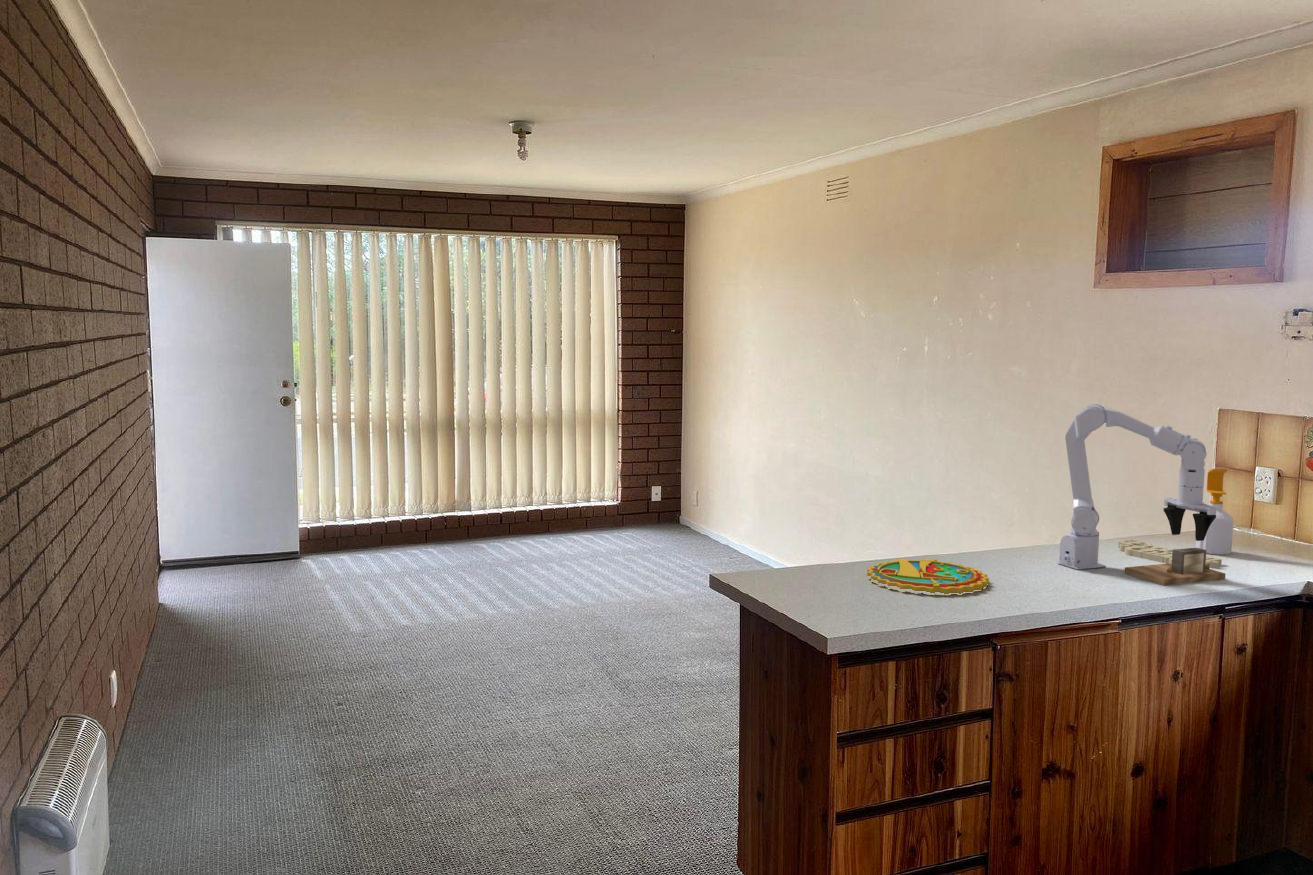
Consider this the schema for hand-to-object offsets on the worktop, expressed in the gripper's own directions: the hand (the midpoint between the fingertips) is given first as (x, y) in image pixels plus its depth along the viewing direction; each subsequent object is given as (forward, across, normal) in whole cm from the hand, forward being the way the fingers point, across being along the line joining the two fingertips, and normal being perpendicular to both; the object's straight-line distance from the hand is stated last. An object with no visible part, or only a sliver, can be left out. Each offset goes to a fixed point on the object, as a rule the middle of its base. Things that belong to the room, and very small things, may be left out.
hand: (1187, 537), depth 248 cm
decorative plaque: (+11, +17, +67) cm, 70 cm away
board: (+10, +1, +3) cm, 11 cm away
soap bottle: (+10, +20, -31) cm, 38 cm away
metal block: (+10, -1, 0) cm, 10 cm away
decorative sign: (+11, +19, -12) cm, 25 cm away
